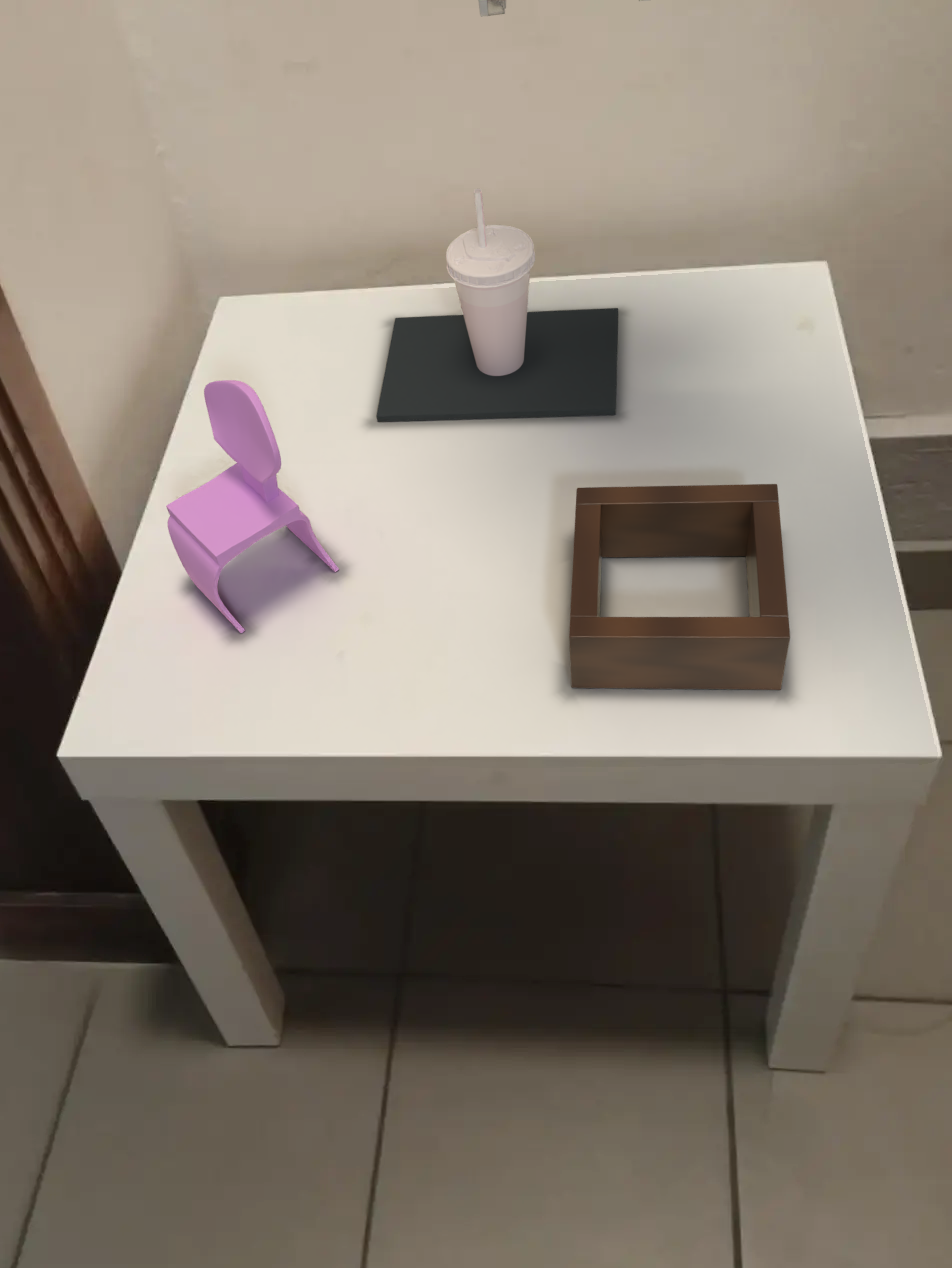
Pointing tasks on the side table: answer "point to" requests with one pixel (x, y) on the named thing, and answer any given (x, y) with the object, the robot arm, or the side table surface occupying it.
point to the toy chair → (235, 494)
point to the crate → (679, 644)
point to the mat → (542, 387)
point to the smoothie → (493, 290)
